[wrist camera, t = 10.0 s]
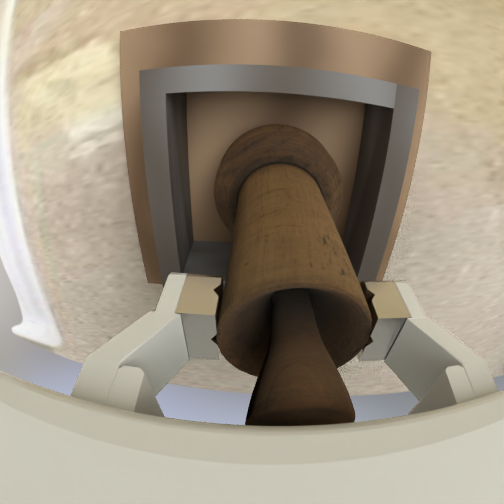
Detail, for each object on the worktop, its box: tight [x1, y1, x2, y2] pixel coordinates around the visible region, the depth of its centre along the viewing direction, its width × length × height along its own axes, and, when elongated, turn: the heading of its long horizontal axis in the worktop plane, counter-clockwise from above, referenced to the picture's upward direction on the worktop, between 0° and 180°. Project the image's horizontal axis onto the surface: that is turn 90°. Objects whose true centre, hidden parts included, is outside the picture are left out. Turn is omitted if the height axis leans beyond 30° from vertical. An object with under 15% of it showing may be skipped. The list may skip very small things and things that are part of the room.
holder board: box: [120, 19, 431, 291], centre depth 16 cm, size 18×18×5 cm
